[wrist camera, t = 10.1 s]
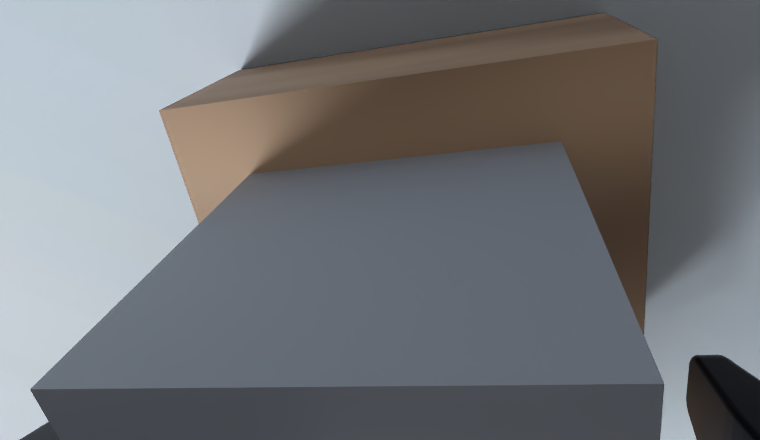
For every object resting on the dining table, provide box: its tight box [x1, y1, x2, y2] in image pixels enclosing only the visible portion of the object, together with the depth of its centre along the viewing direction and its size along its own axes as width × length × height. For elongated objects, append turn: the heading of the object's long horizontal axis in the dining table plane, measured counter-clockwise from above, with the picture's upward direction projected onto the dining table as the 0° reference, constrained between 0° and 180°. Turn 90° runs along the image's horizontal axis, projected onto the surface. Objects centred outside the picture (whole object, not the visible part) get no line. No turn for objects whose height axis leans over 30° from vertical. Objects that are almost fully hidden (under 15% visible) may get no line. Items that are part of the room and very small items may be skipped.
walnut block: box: [159, 13, 657, 335], centre depth 13 cm, size 9×9×4 cm
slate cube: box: [30, 141, 664, 440], centre depth 9 cm, size 6×6×6 cm
